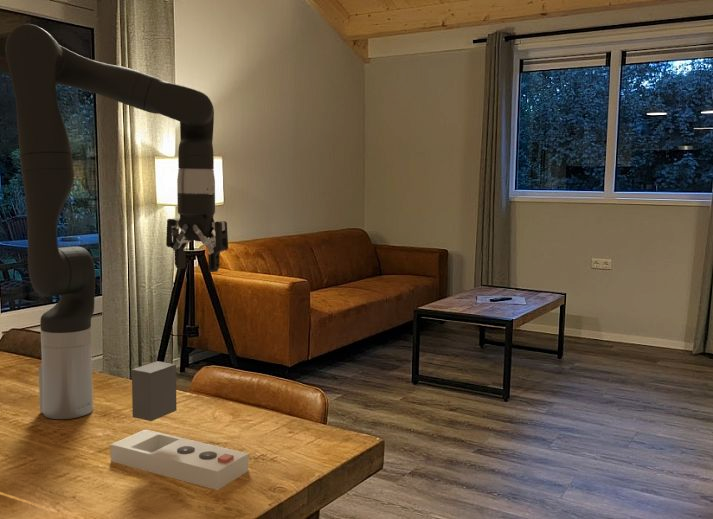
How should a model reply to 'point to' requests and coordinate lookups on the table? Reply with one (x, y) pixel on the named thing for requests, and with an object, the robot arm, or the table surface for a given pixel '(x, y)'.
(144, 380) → the charcoal plug
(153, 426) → the table surface
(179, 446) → the power strip
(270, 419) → the table surface
